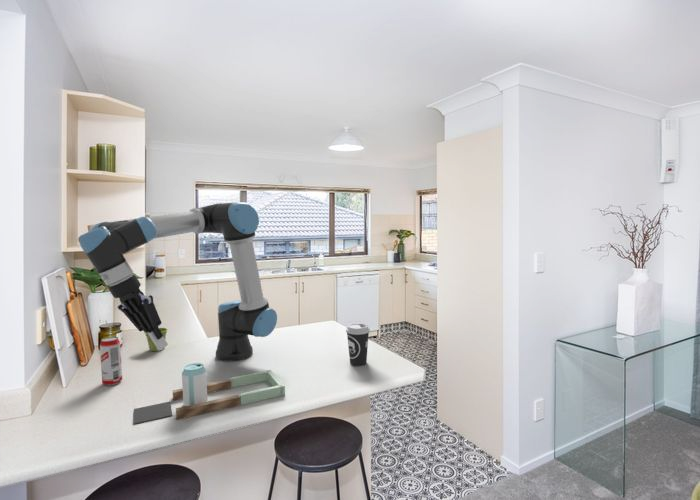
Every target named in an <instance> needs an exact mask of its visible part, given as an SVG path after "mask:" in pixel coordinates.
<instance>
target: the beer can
mask: <svg viewBox="0 0 700 500" xmlns="http://www.w3.org/2000/svg"><path fill="white" fill-rule="evenodd" d="M100 341H101V342H100V344H99V356H100V367H101V368H100V371H101V382H102V383H101V384H103V385H104V386H108V387H110V386H115V385H117V384H120V383H121V381H123V366H122V364H123V363H122V352H121V351H122V349H121V348H122V347H121V340H119V337H118V336H109V337H105V338H104V337H103V338H102V339H101V340H100Z"/></svg>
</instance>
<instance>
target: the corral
mask: <svg viewBox="0 0 700 500" xmlns="http://www.w3.org/2000/svg"><path fill="white" fill-rule="evenodd" d="M229 379H230V381H231V389H232V388H237V387H243V386H246V385H251V384H257V383H260V382H265V381H268V382H269V384H271V386H268V387H265V388H264V387H263V388H260V389H256V390H251V391H247V392H246V391H245V392H242V393H239V394H238V395H239V397H240V406H243V405H247V404H251V403H255V402H260V401H264V400H268V399H269V400H270V399H273V398H276V397H281V396H286V386H285V384H284V383H283V382H282V381H281V380H280V379H279V378H278V376H277V375H276V374H275V373H274V372H273V371H272V369H268V370H263V371H258V372H254V373H253V372H252V373H248V374H243V375H237V376H232V377H231V376H230V377H229Z"/></svg>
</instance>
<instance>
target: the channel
mask: <svg viewBox="0 0 700 500" xmlns="http://www.w3.org/2000/svg"><path fill="white" fill-rule="evenodd" d="M230 388H231V381H230V378H229V379H224V380H219V381H214V382H209V383H208V382H207V394H211V393H215V391H216V392H220V390H221V391H224V390H225V389H226V390H230ZM231 389H232V388H231ZM177 399H178V400H183V387H181V388H177V389H174V390H172V400H173V401H176V400H177ZM238 406H239V407H240V406H241V404H240V395H239V394H236V395H231V396H226V397H222V398H218V399H217V398H216V399H214V400H207V402H203V403H198V404H194V405H189V406H181V407H175V417H176V420H182V419H185V418H190V417H193V416H195V417H196V416H199V415H203V414H207V413H212V412H215V411H221V410H224V409H229V408H234V407H238Z"/></svg>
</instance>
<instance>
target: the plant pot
mask: <svg viewBox="0 0 700 500" xmlns="http://www.w3.org/2000/svg"><path fill="white" fill-rule="evenodd" d="M158 328H159V330H160V331H161V333H162V334H163V337H164V338H165V339H166V336H167V332H168V328H167V327H158ZM143 334H145V337H146V340H147V344H148V350H149V351H150V352H159V351H161V350H159V351H158V349H157V348H156V346H155V344H154V343H153V341H152V340H151V339H150V337H149V336H148V334H147V333H145V332H144V331H143Z"/></svg>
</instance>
